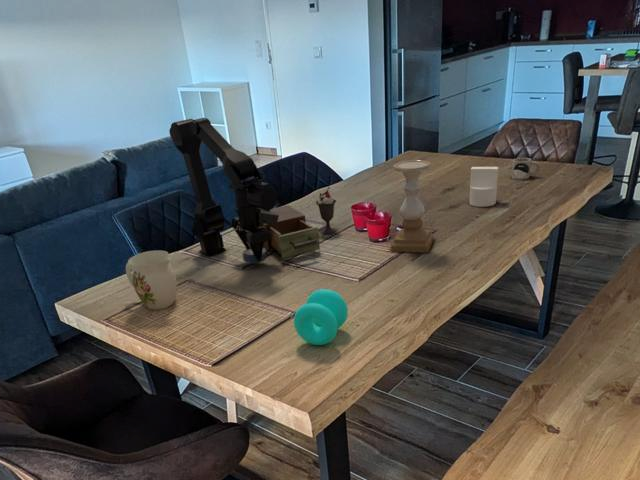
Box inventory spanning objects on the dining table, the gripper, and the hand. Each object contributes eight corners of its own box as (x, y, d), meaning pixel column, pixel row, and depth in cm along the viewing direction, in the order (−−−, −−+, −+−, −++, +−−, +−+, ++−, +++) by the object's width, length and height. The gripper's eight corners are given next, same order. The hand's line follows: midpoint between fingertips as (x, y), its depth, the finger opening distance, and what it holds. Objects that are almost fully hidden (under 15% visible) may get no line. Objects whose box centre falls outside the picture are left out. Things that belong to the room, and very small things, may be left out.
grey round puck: (252, 266, 163) (250, 257, 162) (238, 261, 168) (237, 252, 166) (272, 259, 167) (271, 250, 165) (258, 253, 172) (257, 244, 170)
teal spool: (294, 345, 126) (289, 305, 121) (311, 324, 134) (306, 285, 128) (336, 349, 122) (332, 309, 117) (350, 327, 130) (348, 288, 125)
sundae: (336, 234, 185) (333, 188, 177) (316, 235, 186) (312, 189, 178) (340, 227, 190) (336, 182, 182) (320, 228, 191) (316, 183, 184)
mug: (511, 179, 219) (512, 162, 216) (511, 175, 224) (513, 158, 221) (538, 179, 216) (540, 161, 213) (538, 174, 222) (540, 157, 218)
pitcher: (149, 290, 160) (136, 244, 153) (196, 299, 151) (185, 251, 144) (119, 306, 152) (104, 258, 145) (168, 317, 144) (154, 267, 136)
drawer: (326, 253, 169) (324, 231, 165) (288, 263, 165) (285, 241, 161) (303, 237, 183) (301, 216, 179) (267, 246, 179) (264, 225, 175)
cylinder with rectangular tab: (467, 206, 197) (468, 171, 190) (471, 198, 204) (473, 164, 197) (493, 207, 193) (496, 171, 187) (497, 199, 200) (500, 164, 194)
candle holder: (433, 239, 173) (434, 159, 160) (427, 252, 164) (428, 168, 152) (398, 238, 176) (396, 159, 164) (390, 251, 168) (388, 169, 155)
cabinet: (307, 241, 182) (305, 215, 177) (268, 251, 178) (264, 224, 173) (291, 229, 193) (288, 205, 188) (254, 238, 189) (250, 213, 184)
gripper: (285, 206, 154) (292, 260, 162) (262, 191, 168) (269, 241, 177) (246, 215, 150) (255, 269, 158) (226, 199, 165) (235, 249, 173)
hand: (255, 256), depth 167 cm, fingers closed on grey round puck, 7 cm apart
